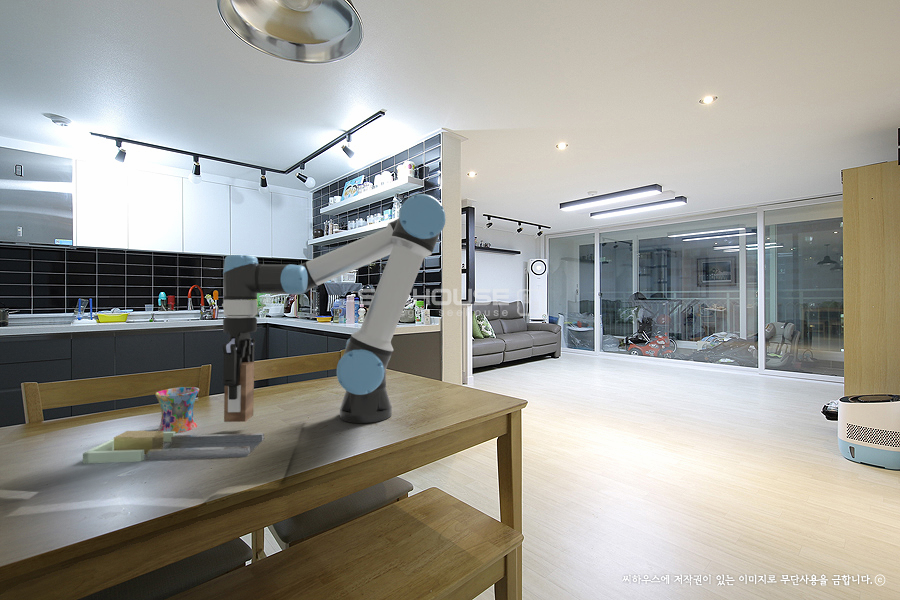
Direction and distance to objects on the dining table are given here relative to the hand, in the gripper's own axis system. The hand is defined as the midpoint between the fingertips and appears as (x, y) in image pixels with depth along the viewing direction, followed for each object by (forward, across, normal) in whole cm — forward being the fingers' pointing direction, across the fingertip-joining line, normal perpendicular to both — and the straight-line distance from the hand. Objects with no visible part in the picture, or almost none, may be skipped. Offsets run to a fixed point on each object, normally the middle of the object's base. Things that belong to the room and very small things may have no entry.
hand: (239, 408), depth 99 cm
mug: (+7, -5, -17) cm, 19 cm away
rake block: (+3, 0, 0) cm, 3 cm away
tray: (+7, +11, -18) cm, 22 cm away
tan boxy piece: (+6, +11, -14) cm, 19 cm away
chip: (+6, +11, -18) cm, 22 cm away
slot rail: (+7, +11, -2) cm, 13 cm away
